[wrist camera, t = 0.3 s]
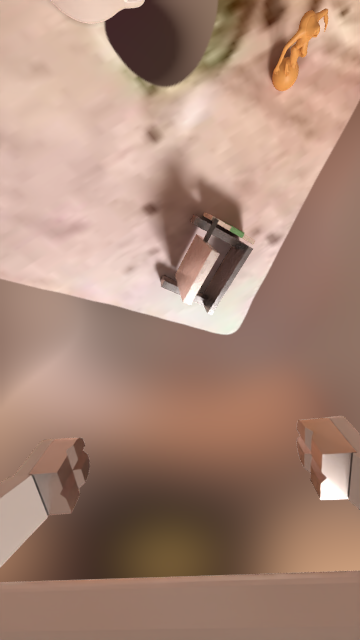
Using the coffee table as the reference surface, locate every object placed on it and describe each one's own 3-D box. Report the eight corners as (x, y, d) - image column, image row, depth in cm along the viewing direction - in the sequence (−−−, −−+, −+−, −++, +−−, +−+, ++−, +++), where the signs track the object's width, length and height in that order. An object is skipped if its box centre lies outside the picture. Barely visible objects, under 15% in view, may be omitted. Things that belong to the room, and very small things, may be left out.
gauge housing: (197, 206, 50) (205, 210, 43) (243, 233, 54) (258, 240, 47) (160, 280, 57) (162, 293, 50) (203, 299, 61) (211, 314, 54)
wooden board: (206, 213, 49) (226, 223, 37) (213, 217, 50) (234, 228, 38) (174, 275, 55) (182, 301, 43) (180, 278, 55) (190, 305, 43)
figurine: (263, 109, 44) (300, 86, 33) (247, 71, 41) (282, 33, 31) (305, 72, 42) (357, 36, 32) (291, 31, 39) (344, -24, 29)
